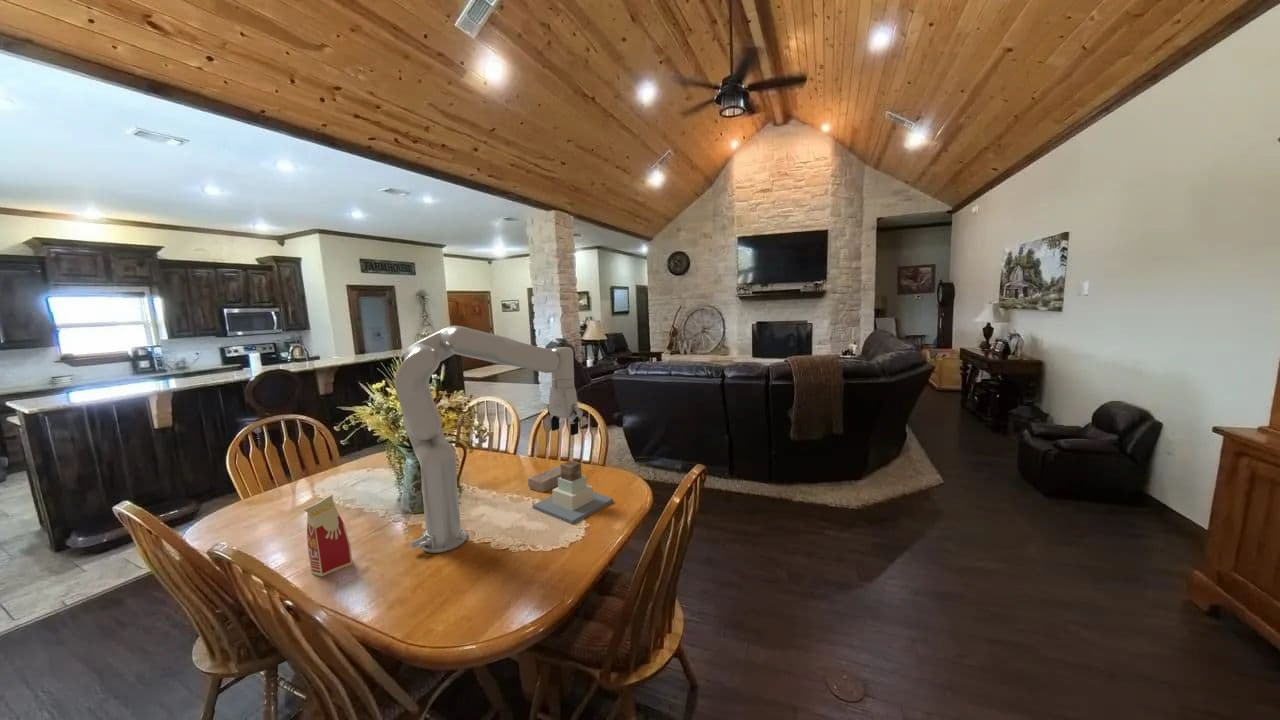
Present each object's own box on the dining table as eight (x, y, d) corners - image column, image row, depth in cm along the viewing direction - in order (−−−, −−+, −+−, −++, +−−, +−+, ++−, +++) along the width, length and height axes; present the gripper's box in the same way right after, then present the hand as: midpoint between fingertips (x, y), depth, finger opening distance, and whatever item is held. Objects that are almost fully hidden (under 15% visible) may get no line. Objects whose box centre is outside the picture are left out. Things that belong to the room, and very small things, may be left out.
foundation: (572, 524, 144) (571, 506, 144) (532, 508, 157) (531, 491, 156) (613, 501, 160) (612, 485, 159) (574, 488, 172) (573, 473, 171)
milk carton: (342, 552, 131) (335, 487, 129) (354, 563, 125) (346, 495, 123) (305, 567, 124) (296, 499, 122) (315, 579, 118) (306, 508, 116)
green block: (572, 494, 153) (571, 482, 152) (558, 489, 157) (557, 478, 156) (586, 487, 158) (586, 476, 158) (572, 482, 162) (572, 472, 162)
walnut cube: (571, 481, 153) (570, 467, 153) (561, 478, 156) (560, 464, 156) (581, 476, 157) (580, 463, 157) (571, 473, 160) (571, 460, 160)
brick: (555, 474, 187) (555, 464, 187) (571, 478, 183) (571, 467, 182) (527, 489, 173) (526, 478, 172) (543, 494, 169) (542, 482, 168)
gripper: (538, 382, 155) (540, 430, 157) (572, 387, 144) (574, 439, 146) (554, 379, 161) (556, 425, 163) (588, 384, 150) (590, 433, 152)
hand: (564, 432), depth 155 cm, fingers open, 9 cm apart
